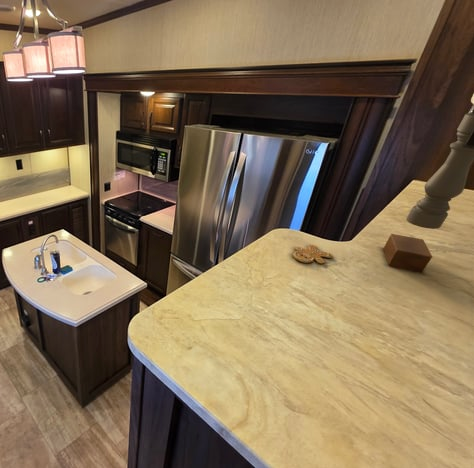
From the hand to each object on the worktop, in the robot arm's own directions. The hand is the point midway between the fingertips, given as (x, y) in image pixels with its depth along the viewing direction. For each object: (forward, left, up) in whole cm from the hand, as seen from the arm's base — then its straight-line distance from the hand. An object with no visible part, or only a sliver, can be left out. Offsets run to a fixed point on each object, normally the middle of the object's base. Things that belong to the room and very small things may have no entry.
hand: (471, 140), depth 61 cm
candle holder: (0, 0, -20) cm, 20 cm away
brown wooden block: (0, 0, -31) cm, 31 cm away
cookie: (+21, +9, -31) cm, 39 cm away
